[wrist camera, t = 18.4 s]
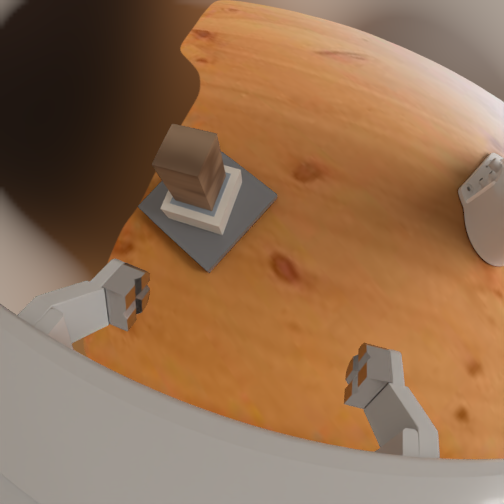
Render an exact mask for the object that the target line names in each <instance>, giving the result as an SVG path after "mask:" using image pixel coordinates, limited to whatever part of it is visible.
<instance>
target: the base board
mask: <svg viewBox="0 0 504 504" xmlns="http://www.w3.org/2000/svg"><path fill="white" fill-rule="evenodd" d="M221 155H222V160H223V164H224V169H225V174H226V177H225V179H224V182H223V184H222V187H221V190H220V192H219V195H218V197H217V200H216V202H215V205H214V207H213V210H212V211H209V210H206V209H203V208H200V207H196V206H193V205H190V204H186V203H183V202H180V201H176V200H175V199H174V198H173V196H172V195H171V193H170V192H169V190H168V189H167V187H166V186H165V184H164V183H163V181H161V182H160V183H159V184H158V185H157V187H156V188H155V189H154V190H153V191H152V192H151V193H150V194H149V195H148V196H147V197H146V198H145V199H144V200H143V201H142V202H141V204H140V205H139V206H138V207H139V208H140V209H141V210H142V211H143V212H144V213H145V214H146V215H147V216H148V217H149V218H150V219H151V220H152V221H153V222H154V223H155V224H156V225H158V226H159V227H160V228H161V229H162V230H163V231H164V232H165V233H166V234H167V235H168V236H169V237H170V238H171V239H172V240H174V241H175V242H176V243H177V244H178V245H179V246H180V247H181V248H182V249H183V250H184V251H185V252H187V253H188V254H189V255H190V256H191V257H192V258H193V259H194V260H195V261H196V262H197V263H199V264H200V265H201V266H202V267H203V268H204V269H205V270H206V271H207V272H209V273H210V272H211V271H212V269H213V268H214V267H215V266H216V265H217V264H218V263H219V262H220V261H221V259H222V258H223V257H224V256H225V255H226V254H227V253H228V252H229V251H230V249H231V248H232V247H233V246H234V245H235V244H236V243H237V242H238V241H239V240H240V238H241V237H242V236H243V235H244V234H245V233H246V232H247V231H248V230H249V228H250V227H251V226H252V225H253V224H254V223H255V222H256V221H257V220H258V219H259V218H260V216H261V215H262V214H263V213H264V212H265V211H266V210H267V209H268V208H269V207H270V206H271V204H272V203H273V202H274V201H275V200H276V199H277V194H276V193H275V192H273V191H272V190H271V189H270V188H268V187H267V186H266V185H264V184H263V183H262V182H261V181H259V180H258V179H257V178H255V177H254V176H253V175H252V174H250V173H249V172H248V171H246V170H245V169H244V168H243V167H241V166H240V165H239V164H237V163H236V162H235V161H233V160H232V159H231V158H229V157H228V156H227V155H225V154H224V153H223V152H221Z"/></svg>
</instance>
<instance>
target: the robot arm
mask: <svg viewBox="0 0 504 504" xmlns="http://www.w3.org/2000/svg"><path fill="white" fill-rule="evenodd" d="M467 189H468V190H469V191H468V190H467ZM458 194H459V197H460V200H461V203H462V205H463V208H464V217H465V225H466V230H467V233H468V236H469V239H470V241H471V243H472V245H473V247H474V249H475V250H476V252H477V253H478V254H479V256H480V257H481V258H482V259H483V260H485V261H486V262H487V263H489V264H491V265H493V266H504V158H502V157H501V156H499V155H498V154H495V153H491V154H489V155H488V156H487V157H486V159H485V160H484V161H483V162H482V163H481V164H480V166H479V167H478V168H477V169H476V170H475V171H474V172H473V173H472V175H471V176H470V177H469V178H468V179H467V180H466V181H465V182H464V183H463V185H462V186H461V187H460V188H459V190H458ZM149 281H150V273H149V272H147V271H145V270H142V269H140V268H137V267H135V266H133V265H130V264H128V263H125V262H122V261H120V260H118V259H112V260H111V261H110V262H109V263H108V264H107V265H106V266H105V267H104V268H103V269H102V270H101V271H100V272H99V273H98V274H97V275H96V276H95V277H94V278H93V279H92V280H91V281H90V282H89V281H84V282H81V283H78V284H74V285H71V286H68V287H65V288H61V289H58V290H55V291H51V292H48V293H45V294H42V295H39V296H36V297H35V298H34V299H33V300H32V301H31V302H30V303H29V304H28V305H27V306H26V307H25V308H24V309H23V310H22V311H21V312H20V313H19V314H18V315H16V314H14V313H13V312H11V311H10V310H9V309H7V308H6V307H4V306H3V305H1V304H0V504H504V459H441V458H440V456H439V441H438V431H437V430H436V428H435V427H434V425H433V424H432V422H431V420H430V419H429V417H428V416H427V414H426V413H425V411H424V410H423V409H422V407H421V406H420V404H419V403H418V401H417V400H416V398H415V397H414V395H413V394H412V392H411V391H410V389H409V388H408V387H406V386H405V384H404V373H403V364H402V356H401V353H400V352H399V351H395V350H391V349H386V348H382V347H379V346H375V345H371V344H367V343H363V344H362V345H361V346H360V348H359V352H358V355H356V356H354V357H353V358H352V359H351V361H350V363H349V365H348V368H347V372H346V381H347V383H348V386H347V387H346V389H345V395H344V404H346V405H350V406H354V407H358V408H362V409H364V412H365V414H366V416H367V419H368V421H369V423H370V425H371V428H372V430H373V432H374V434H375V437H376V439H377V441H378V443H379V446H380V448H379V449H378V450H376V451H375V452H370V451H364V450H357V449H351V448H346V447H340V446H335V445H330V444H325V443H320V442H315V441H311V440H306V439H302V438H298V437H294V436H290V435H286V434H282V433H278V432H274V431H271V430H267V429H263V428H260V427H256V426H253V425H250V424H246V423H243V422H240V421H237V420H234V419H231V418H228V417H224V416H222V415H219V414H216V413H213V412H210V411H207V410H204V409H202V408H199V407H196V406H193V405H191V404H188V403H186V402H183V401H180V400H178V399H175V398H173V397H170V396H168V395H166V394H163V393H161V392H158V391H156V390H154V389H151V388H149V387H147V386H145V385H142V384H140V383H138V382H136V381H134V380H131V379H129V378H127V377H125V376H123V375H121V374H119V373H117V372H115V371H113V370H111V369H109V368H107V367H105V366H103V365H101V364H99V363H97V362H95V361H93V360H91V359H89V358H87V357H85V356H83V355H82V354H80V353H78V352H76V351H74V349H73V346H72V343H73V342H75V341H77V340H79V339H81V338H83V337H85V336H87V335H89V334H91V333H93V332H95V331H97V330H99V329H101V328H103V327H105V326H107V325H109V324H111V325H114V326H116V327H118V328H121V329H123V330H125V331H129V330H130V328H131V327H132V325H133V324H134V323H135V321H136V314H138V313H141V312H143V310H144V309H145V307H146V305H147V303H148V300H149V295H150V289H149V287H148V286H147V284H148V282H149Z"/></svg>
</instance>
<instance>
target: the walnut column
mask: <svg viewBox="0 0 504 504" xmlns="http://www.w3.org/2000/svg"><path fill="white" fill-rule="evenodd" d="M152 166H153V168H154V169H155V170H156V172H157V174H158V175H159V177H160V178H161V180H162V181H163V183H164V184H165V186H166V187H167V189H168V190H169V192H170V193H171V195H172V196H173V198H174V199H175V200H176V201H180V202H183V203H186V204H190V205H193V206H196V207H200V208H203V209H206V210H209V211H212V210H213V207H214V205H215V202H216V200H217V197H218V195H219V192H220V190H221V187H222V184H223V182H224V179H225V177H226V174H225V169H224V164H223V160H222V155H221V151H220V146H219V141H218V137H217V134H216V133H212V132H208V131H203V130H199V129H195V128H190V127H185V126H181V125H176V124H172V125H171V127H170V129H169V131H168V133H167V135H166V137H165V138H164V140H163V143H162V145H161V146H160V149H159V151H158V153H157V155H156V157H155V159H154V161H153V163H152Z"/></svg>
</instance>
